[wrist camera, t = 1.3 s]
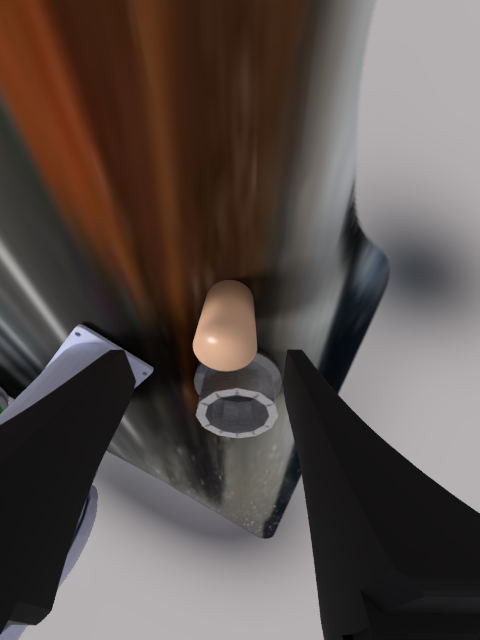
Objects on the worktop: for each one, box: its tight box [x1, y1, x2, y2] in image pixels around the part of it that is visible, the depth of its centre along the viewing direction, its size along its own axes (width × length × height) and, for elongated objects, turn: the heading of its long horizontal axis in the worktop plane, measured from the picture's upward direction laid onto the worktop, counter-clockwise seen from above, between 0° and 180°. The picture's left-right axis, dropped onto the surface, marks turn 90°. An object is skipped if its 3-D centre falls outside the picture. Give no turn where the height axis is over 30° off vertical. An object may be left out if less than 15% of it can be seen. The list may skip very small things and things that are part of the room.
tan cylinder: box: [193, 280, 257, 371], centre depth 17 cm, size 4×4×6 cm
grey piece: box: [194, 349, 282, 438], centre depth 22 cm, size 9×9×4 cm
